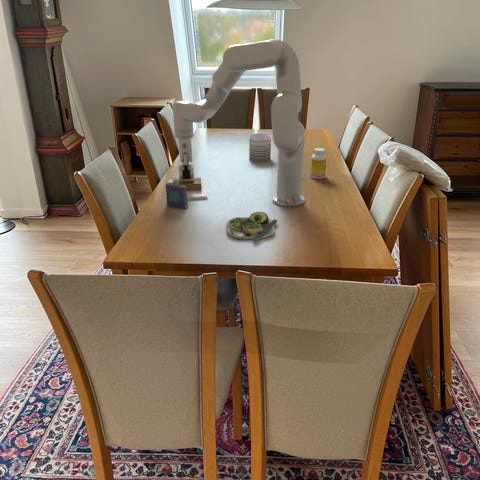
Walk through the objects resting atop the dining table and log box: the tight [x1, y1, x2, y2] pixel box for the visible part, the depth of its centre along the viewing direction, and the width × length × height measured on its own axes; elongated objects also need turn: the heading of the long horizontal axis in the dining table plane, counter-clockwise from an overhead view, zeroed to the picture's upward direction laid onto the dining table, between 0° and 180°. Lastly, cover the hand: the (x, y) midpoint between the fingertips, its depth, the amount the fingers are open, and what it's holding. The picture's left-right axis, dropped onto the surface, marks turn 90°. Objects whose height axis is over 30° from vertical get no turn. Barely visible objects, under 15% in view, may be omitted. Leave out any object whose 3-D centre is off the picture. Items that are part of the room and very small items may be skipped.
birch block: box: [178, 163, 195, 182], centre depth 193 cm, size 4×6×6 cm
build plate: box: [168, 178, 208, 201], centre depth 196 cm, size 22×16×1 cm
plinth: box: [171, 176, 202, 191], centre depth 195 cm, size 8×12×3 cm, turn 96°
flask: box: [165, 180, 189, 210], centre depth 177 cm, size 9×3×11 cm, turn 63°
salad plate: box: [226, 211, 278, 242], centre depth 158 cm, size 19×18×5 cm
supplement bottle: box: [309, 147, 327, 180], centre depth 209 cm, size 7×7×13 cm
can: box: [248, 133, 273, 164], centre depth 234 cm, size 11×11×12 cm
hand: (186, 176), depth 193 cm, fingers open, 4 cm apart
